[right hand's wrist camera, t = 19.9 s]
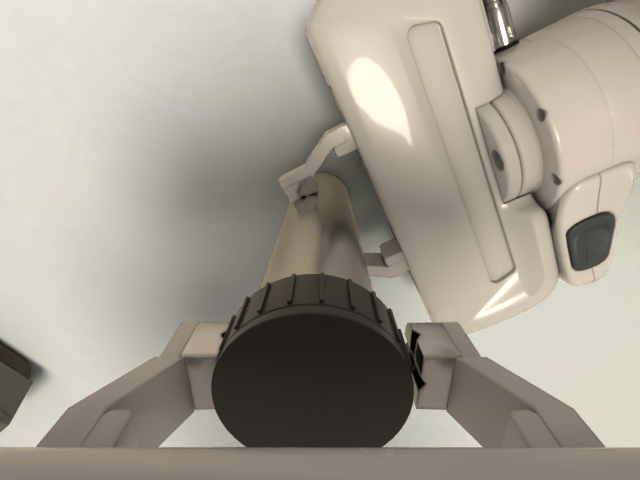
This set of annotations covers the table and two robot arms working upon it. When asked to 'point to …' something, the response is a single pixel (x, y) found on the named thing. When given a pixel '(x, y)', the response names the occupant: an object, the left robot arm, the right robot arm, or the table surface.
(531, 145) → the left robot arm
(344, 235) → the metal thermos flask
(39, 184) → the table surface
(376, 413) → the lid
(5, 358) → the toy
